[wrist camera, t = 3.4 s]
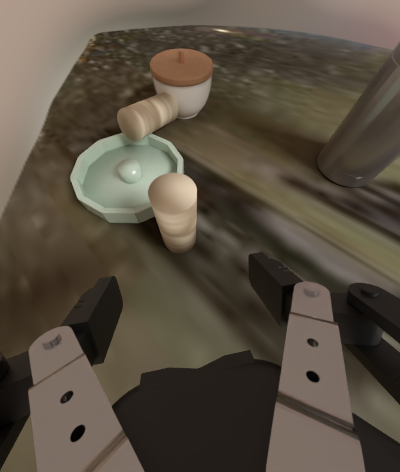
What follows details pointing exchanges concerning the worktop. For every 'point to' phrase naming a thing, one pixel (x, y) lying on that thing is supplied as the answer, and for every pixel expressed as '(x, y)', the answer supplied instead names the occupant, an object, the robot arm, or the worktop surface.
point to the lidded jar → (183, 78)
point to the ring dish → (123, 176)
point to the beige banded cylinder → (147, 116)
